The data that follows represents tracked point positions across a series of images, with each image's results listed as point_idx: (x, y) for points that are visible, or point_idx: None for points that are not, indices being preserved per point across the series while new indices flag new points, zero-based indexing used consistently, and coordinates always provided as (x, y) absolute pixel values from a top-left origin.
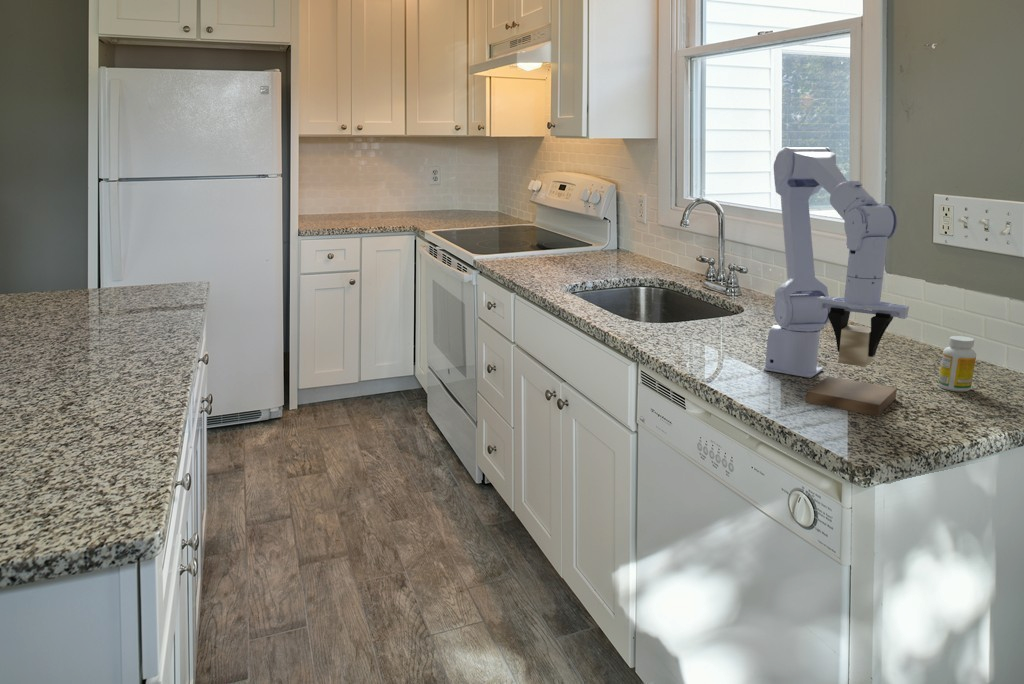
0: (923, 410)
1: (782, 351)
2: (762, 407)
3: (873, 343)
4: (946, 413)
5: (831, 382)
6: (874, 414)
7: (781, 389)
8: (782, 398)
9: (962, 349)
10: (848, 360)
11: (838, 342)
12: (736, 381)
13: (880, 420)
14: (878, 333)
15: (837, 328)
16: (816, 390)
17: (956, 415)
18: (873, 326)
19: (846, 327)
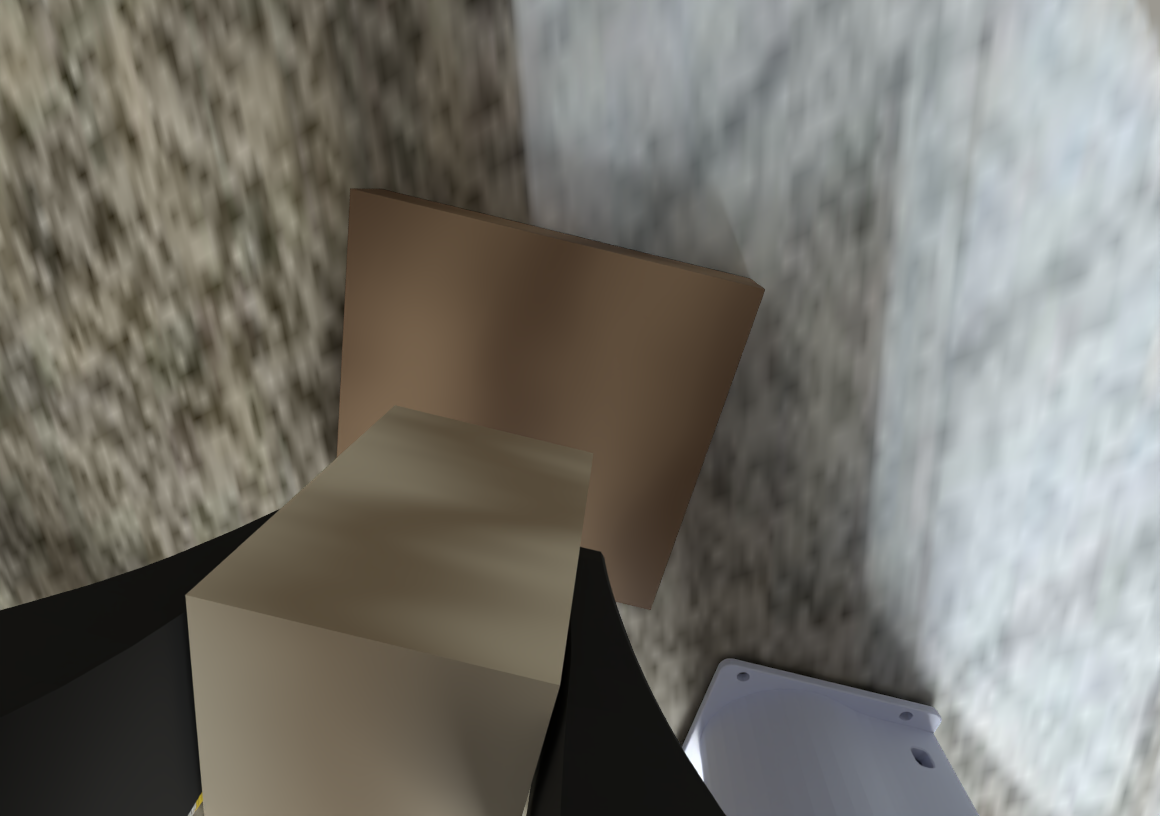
0: (227, 384)
1: (901, 808)
2: (1028, 39)
3: (238, 540)
4: (141, 380)
5: (629, 513)
6: (396, 193)
7: (869, 456)
8: (877, 297)
9: None
10: (512, 448)
11: (598, 599)
12: (1112, 507)
13: (359, 116)
14: (69, 597)
15: (617, 724)
16: (706, 331)
17: (102, 368)
18: (27, 671)
19: (510, 791)
